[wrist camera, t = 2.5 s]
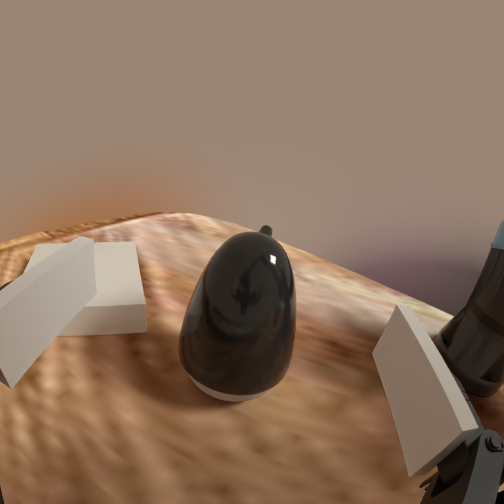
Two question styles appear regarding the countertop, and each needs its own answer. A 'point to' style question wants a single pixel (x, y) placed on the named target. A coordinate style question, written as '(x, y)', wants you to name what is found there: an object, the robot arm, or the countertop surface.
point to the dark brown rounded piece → (241, 319)
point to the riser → (107, 291)
